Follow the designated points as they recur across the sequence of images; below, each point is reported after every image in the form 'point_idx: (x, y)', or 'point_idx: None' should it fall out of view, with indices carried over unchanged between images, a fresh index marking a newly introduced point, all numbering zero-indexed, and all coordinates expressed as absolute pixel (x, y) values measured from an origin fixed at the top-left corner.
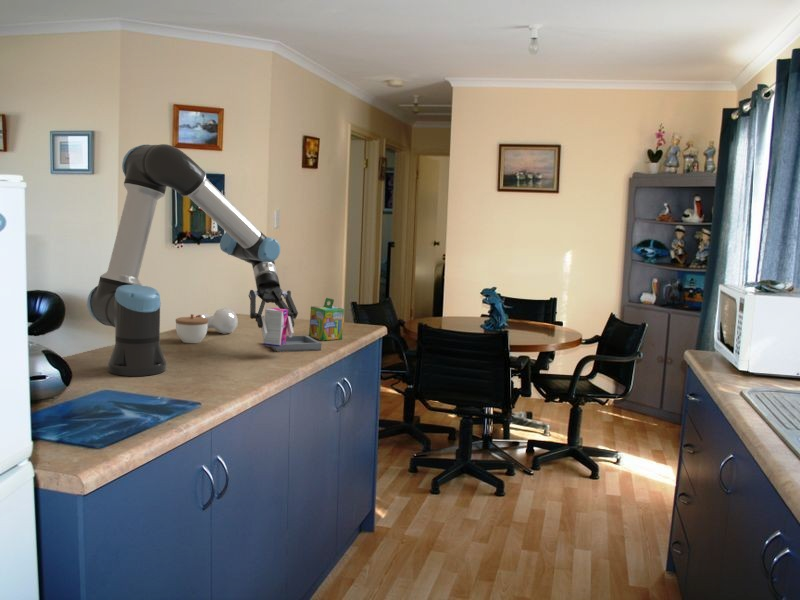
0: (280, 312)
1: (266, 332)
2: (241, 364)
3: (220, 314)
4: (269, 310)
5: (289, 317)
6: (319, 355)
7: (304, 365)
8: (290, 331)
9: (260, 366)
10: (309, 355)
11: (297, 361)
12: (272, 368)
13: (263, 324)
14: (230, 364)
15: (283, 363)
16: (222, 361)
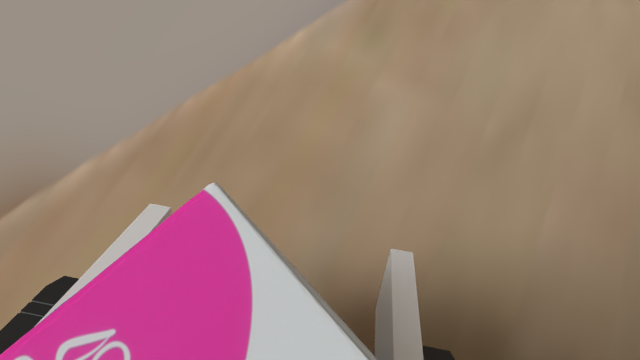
0: (232, 203)
1: (398, 253)
2: (539, 212)
3: None
4: (361, 346)
5: None
6: (8, 259)
7: (244, 73)
8: None
9: (459, 134)
10: None
11: (225, 164)
12: (420, 77)
13: (418, 324)
14: (596, 235)
15: (319, 150)
16: (623, 327)
